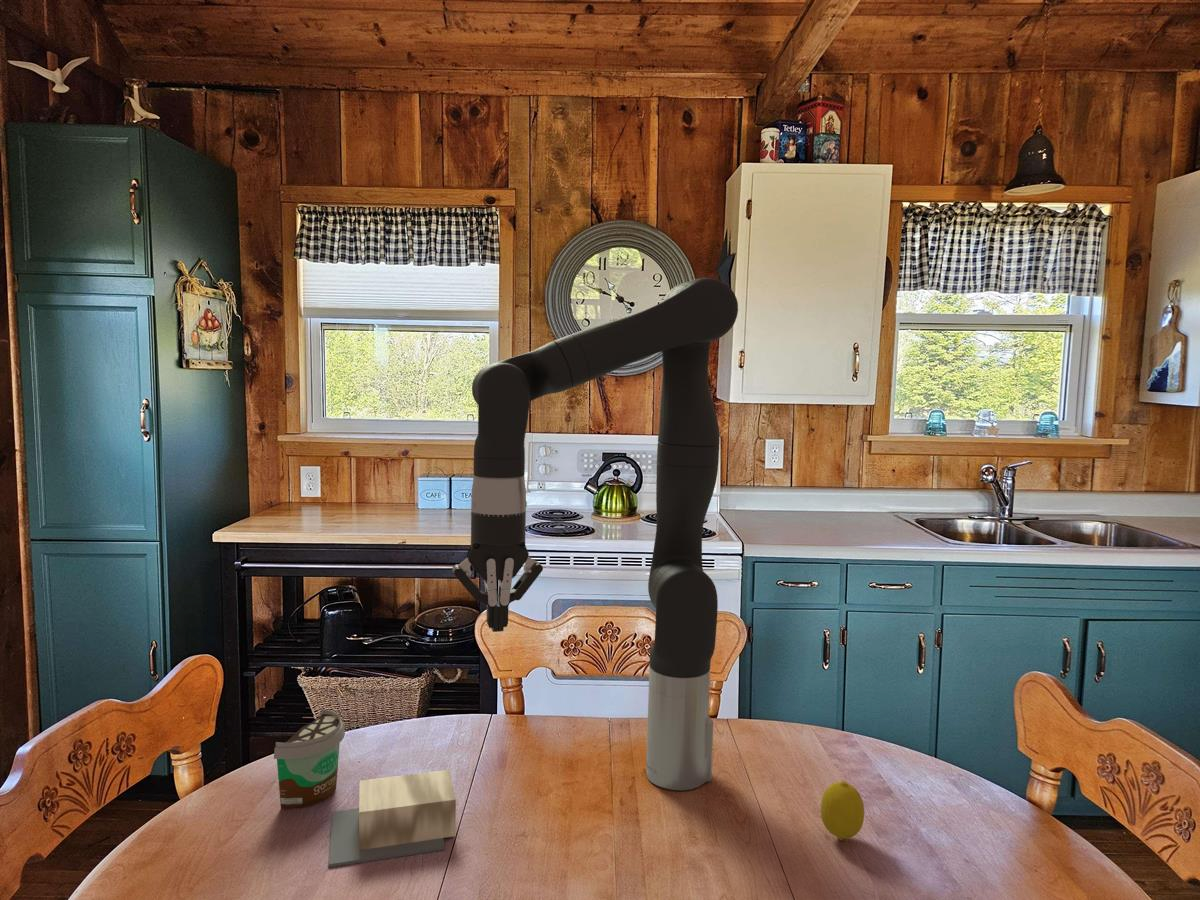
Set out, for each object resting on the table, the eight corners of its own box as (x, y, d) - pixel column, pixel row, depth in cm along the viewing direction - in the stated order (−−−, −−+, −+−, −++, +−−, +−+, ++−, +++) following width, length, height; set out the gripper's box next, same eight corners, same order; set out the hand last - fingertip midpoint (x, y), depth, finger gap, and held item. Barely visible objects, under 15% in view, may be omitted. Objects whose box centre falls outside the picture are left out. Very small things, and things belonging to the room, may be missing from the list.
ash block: (449, 769, 107) (359, 780, 104) (455, 799, 100) (359, 812, 96) (449, 803, 108) (359, 815, 104) (455, 836, 100) (359, 850, 97)
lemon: (840, 856, 98) (843, 796, 98) (810, 833, 103) (813, 776, 103) (871, 845, 101) (875, 787, 100) (840, 823, 106) (843, 768, 105)
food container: (314, 820, 104) (314, 749, 103) (274, 814, 105) (273, 744, 104) (360, 775, 116) (360, 711, 115) (323, 770, 117) (323, 707, 116)
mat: (436, 800, 109) (436, 797, 109) (444, 849, 98) (444, 846, 98) (332, 814, 105) (332, 811, 105) (328, 867, 94) (328, 864, 94)
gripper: (539, 502, 112) (537, 619, 113) (447, 504, 108) (446, 625, 109) (551, 511, 104) (549, 635, 106) (453, 513, 101) (452, 642, 102)
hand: (496, 629), depth 108 cm, fingers closed
